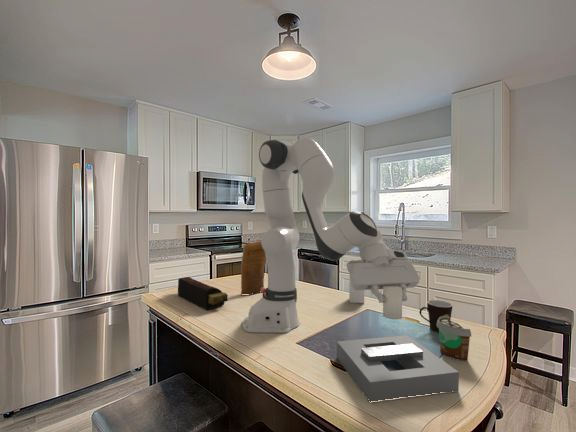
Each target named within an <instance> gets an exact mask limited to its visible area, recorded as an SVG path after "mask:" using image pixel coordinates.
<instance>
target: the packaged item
mask: <svg viewBox="0 0 576 432" xmlns="http://www.w3.org/2000/svg"><path fill="white" fill-rule="evenodd" d="M177 281H178V282H177V296H178V297H179V298H180V299H183V300H185V301H186V302H188V303H191V304H193V305H195V306H198V307H200V308H202V309H204V310H207V311H208V310H211V309H214V308H215V309H216V308H219V307H223V306H224V305H225V302H227V301H228V300H229V299H228V298H229V297H228V294H227V293H226V292H223V291H222V290H221V289H220V288H217V287H215V286H211V285H209V284H206V283H204V282H201V281H198V280H197V279H194V278H193V277H190V276H186V277H180V278H178V280H177Z"/></svg>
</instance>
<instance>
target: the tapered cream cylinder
mask: <svg viewBox="0 0 576 432" xmlns="http://www.w3.org/2000/svg"><path fill="white" fill-rule="evenodd" d="M382 290H383V291H382V292H383V293H382V294H385V297H386V301H385V303H382V316H383V317H384V318H386V319H389V320H401V319H402V318H403V301H402V287H399V286H393V285H386V286H383V289H382Z"/></svg>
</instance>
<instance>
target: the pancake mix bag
mask: <svg viewBox="0 0 576 432" xmlns="http://www.w3.org/2000/svg"><path fill="white" fill-rule="evenodd" d="M261 241H262V240H261ZM261 241H255V242H251V243H245V245H243V248H242V255H241V256H242V257H241V267H240V279H241V280H240V285H241V287H240V289H241V291H240V295H241V294H252V293H256V292H260V291H261V288H262V287H264V288H265V285H264V282H265V279H264V278H265V267H266V264H267V261H266V256H265V251H264V249H263V247H262V244H261ZM260 293H261V292H260ZM256 294H257V293H256Z"/></svg>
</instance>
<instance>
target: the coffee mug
mask: <svg viewBox="0 0 576 432" xmlns="http://www.w3.org/2000/svg"><path fill="white" fill-rule="evenodd" d="M426 305H427V307H426V306H423V307H421V308H420V309H419V312H418V313H419V315H420V317H422V319H424V320H425V321H426V322H428V323H429V329H430V330H431V331H433V332H435V333H439V328H438V327H437V321H438V319H439V317H442V316H447V319H449V320H450V321H451V319H452V312H453V311H452V310H453V306H454V305H453V304H452V303H450V302H449V301H445V300H440V299H431V300H428V301H426ZM425 309H426V310H427V311H428V312H427V313H428V318H426V317H424V315H423V314H422V312H423V310H425Z"/></svg>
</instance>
